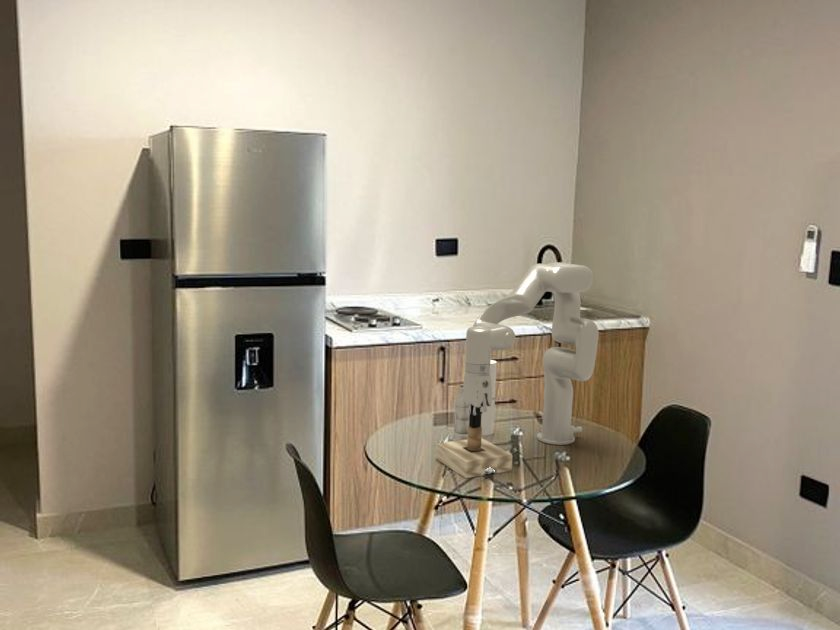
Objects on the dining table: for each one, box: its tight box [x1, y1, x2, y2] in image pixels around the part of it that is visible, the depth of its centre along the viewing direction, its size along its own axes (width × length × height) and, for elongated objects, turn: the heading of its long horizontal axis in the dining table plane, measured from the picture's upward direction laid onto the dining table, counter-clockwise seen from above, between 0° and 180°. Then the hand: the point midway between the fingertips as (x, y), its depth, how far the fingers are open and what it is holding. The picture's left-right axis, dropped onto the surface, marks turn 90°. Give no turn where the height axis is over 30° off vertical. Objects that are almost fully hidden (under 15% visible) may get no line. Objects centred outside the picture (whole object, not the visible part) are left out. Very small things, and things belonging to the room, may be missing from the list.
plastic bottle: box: [452, 384, 470, 441], centre depth 277 cm, size 6×7×20 cm
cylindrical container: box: [481, 359, 498, 437], centre depth 292 cm, size 7×7×25 cm
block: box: [435, 437, 513, 479], centre depth 261 cm, size 16×18×5 cm
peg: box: [467, 426, 483, 453], centre depth 260 cm, size 4×4×12 cm
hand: (475, 426), depth 259 cm, fingers closed
